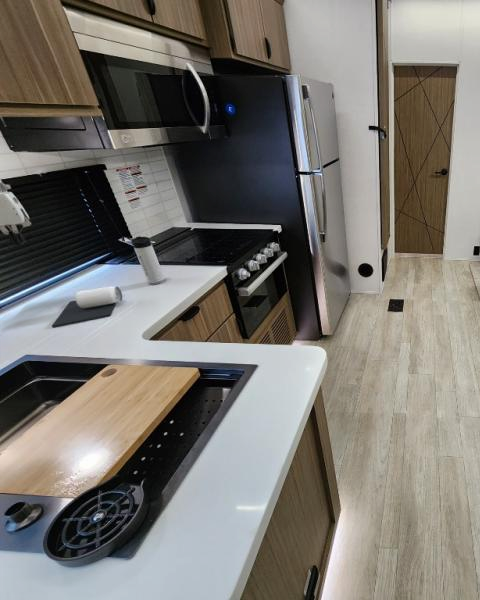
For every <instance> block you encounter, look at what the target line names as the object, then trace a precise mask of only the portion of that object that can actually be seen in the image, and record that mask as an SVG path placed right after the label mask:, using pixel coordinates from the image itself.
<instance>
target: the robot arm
mask: <svg viewBox="0 0 480 600" xmlns="http://www.w3.org/2000/svg"><path fill="white" fill-rule="evenodd" d="M11 189H12V187H11V184H6V183H4V182H3V181H2V179H1V178H0V233H3V234H4V235H6V236H7V237H8V239H9V241H10V242H11V243H12V244H13V245H14V246H15V247H16V246H23V245H24V244H25V243H26V239H25V237H24V235H23V233H22V231H23V229H24V228H25V227H30V226H31V225H32V222H31V221H30V216H29V214H28V212H27V211H26V209H25V208H24V206H23V205H22V204H21V202H20V201H19V199H18V198H17V197H16V196H15V194H14V193H13V192H12V191H8V190H11Z"/></svg>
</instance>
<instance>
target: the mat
mask: <svg viewBox="0 0 480 600" xmlns="http://www.w3.org/2000/svg"><path fill="white" fill-rule="evenodd" d="M116 305H117V303H112V304H106V305H101V306H95V307H90V308H80V307H79V306H78V305H77V303H76V300H71V301H69V302H68V303H67V305H66V306H65V307H64V309H63V310H62V311H61V313H60V314H59V315H58V317H56V319H55V321H54V322H53V323H52V324H51V327H52V329H54V328H59V327H64V326H69V325H73V324H78V323H84V322H88V321H93V320H98V319H104V318H108V317H111V316H112V314H113V312H114V309H115V307H116Z"/></svg>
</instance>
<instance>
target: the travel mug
mask: <svg viewBox="0 0 480 600" xmlns="http://www.w3.org/2000/svg"><path fill="white" fill-rule="evenodd" d="M130 242H131V244H132V246H133V249H134V252H135V254H136V256H137V259H138V261H139V264H140V267H141V269H142V271H143V273H144V276H145V278H146V281H147V283H148V285H150V286H155V284H156V285H160V284H162V282H163V283H164V282H166V278H165V275H164V273H163V272H164V271H163V270H162V268H161V265H160V263H159V260H158V257H157V254H156V252H155V249H154V246H153V244H152V242H151V239H150V237H148V236H140V235H139V236H136V237H134V238H132V239H131V241H130Z"/></svg>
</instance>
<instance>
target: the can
mask: <svg viewBox="0 0 480 600" xmlns="http://www.w3.org/2000/svg"><path fill="white" fill-rule="evenodd" d="M122 300H123V293H122V290H121V289H120V287H119V286H104V287H99V288H92V289H86V290H80V291H77V292H76V293H75V294H74V301H76V303H77V305H78V306H79V307H80V308H90V307H95V306H101V305H106V304H112V303H116V304H117V303H119V302H122Z"/></svg>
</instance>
